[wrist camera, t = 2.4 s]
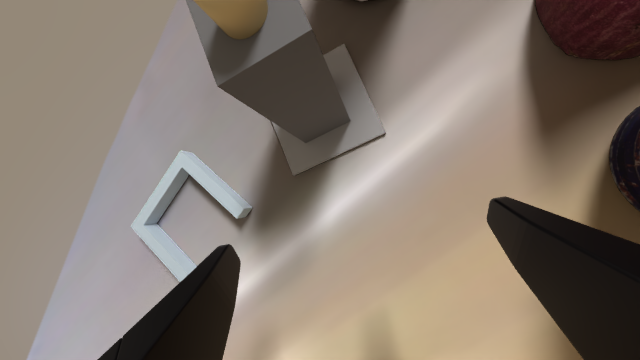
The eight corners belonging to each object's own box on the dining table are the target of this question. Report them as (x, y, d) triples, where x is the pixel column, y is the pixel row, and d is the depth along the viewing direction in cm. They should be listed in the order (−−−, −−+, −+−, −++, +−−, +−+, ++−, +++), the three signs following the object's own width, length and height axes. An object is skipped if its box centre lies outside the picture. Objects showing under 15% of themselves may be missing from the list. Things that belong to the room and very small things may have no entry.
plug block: (350, 120, 21) (293, -16, 7) (305, 143, 21) (177, 60, 8) (330, 77, 21) (243, -126, 8) (287, 100, 22) (141, -43, 9)
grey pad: (385, 133, 20) (385, 132, 20) (294, 175, 22) (293, 175, 22) (344, 45, 21) (344, 43, 21) (261, 92, 23) (259, 91, 23)
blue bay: (252, 207, 23) (244, 208, 21) (198, 283, 24) (186, 289, 23) (192, 152, 25) (180, 150, 23) (144, 224, 26) (130, 226, 25)
